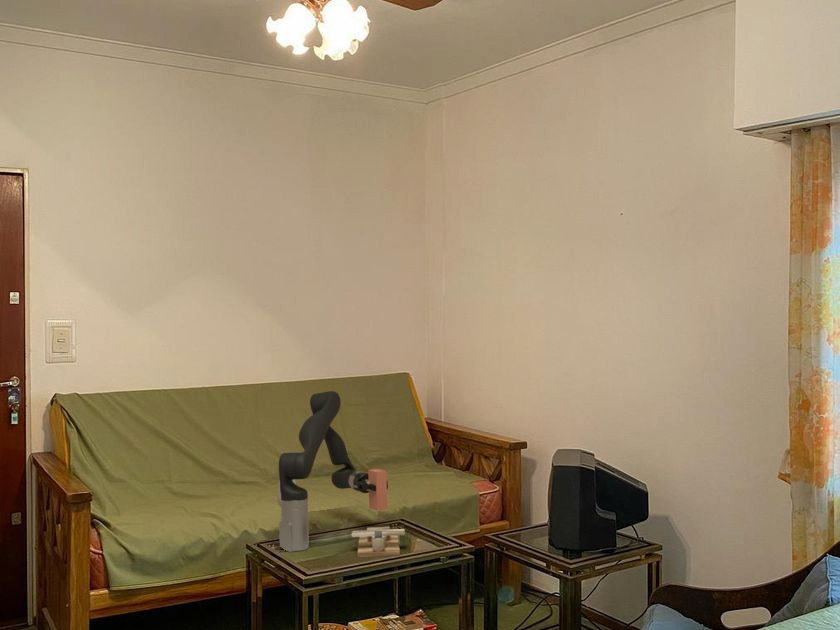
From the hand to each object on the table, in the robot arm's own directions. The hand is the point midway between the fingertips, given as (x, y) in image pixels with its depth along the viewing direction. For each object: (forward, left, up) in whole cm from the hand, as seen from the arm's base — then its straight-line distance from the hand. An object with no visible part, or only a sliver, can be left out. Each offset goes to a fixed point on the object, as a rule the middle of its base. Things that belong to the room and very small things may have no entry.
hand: (380, 487), depth 311 cm
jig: (-12, -11, -18) cm, 24 cm away
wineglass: (-21, +28, -18) cm, 40 cm away
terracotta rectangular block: (+1, +3, -8) cm, 8 cm away
